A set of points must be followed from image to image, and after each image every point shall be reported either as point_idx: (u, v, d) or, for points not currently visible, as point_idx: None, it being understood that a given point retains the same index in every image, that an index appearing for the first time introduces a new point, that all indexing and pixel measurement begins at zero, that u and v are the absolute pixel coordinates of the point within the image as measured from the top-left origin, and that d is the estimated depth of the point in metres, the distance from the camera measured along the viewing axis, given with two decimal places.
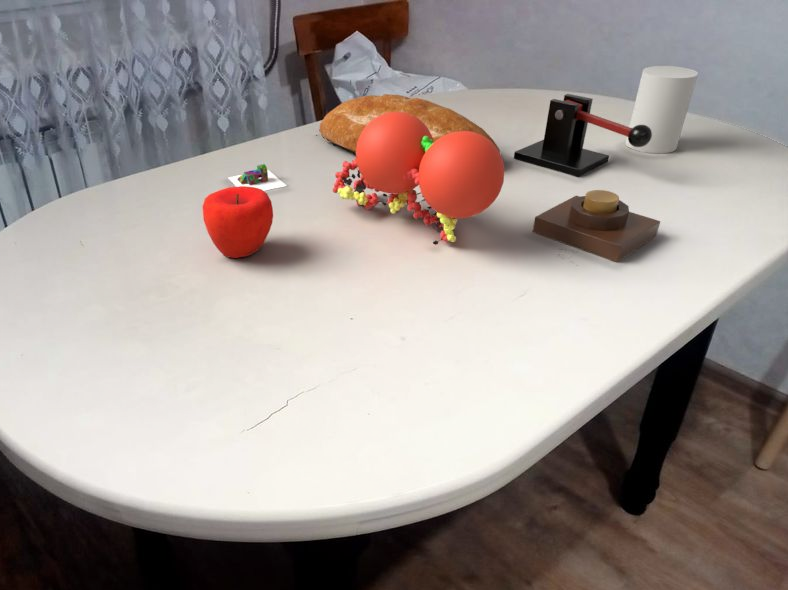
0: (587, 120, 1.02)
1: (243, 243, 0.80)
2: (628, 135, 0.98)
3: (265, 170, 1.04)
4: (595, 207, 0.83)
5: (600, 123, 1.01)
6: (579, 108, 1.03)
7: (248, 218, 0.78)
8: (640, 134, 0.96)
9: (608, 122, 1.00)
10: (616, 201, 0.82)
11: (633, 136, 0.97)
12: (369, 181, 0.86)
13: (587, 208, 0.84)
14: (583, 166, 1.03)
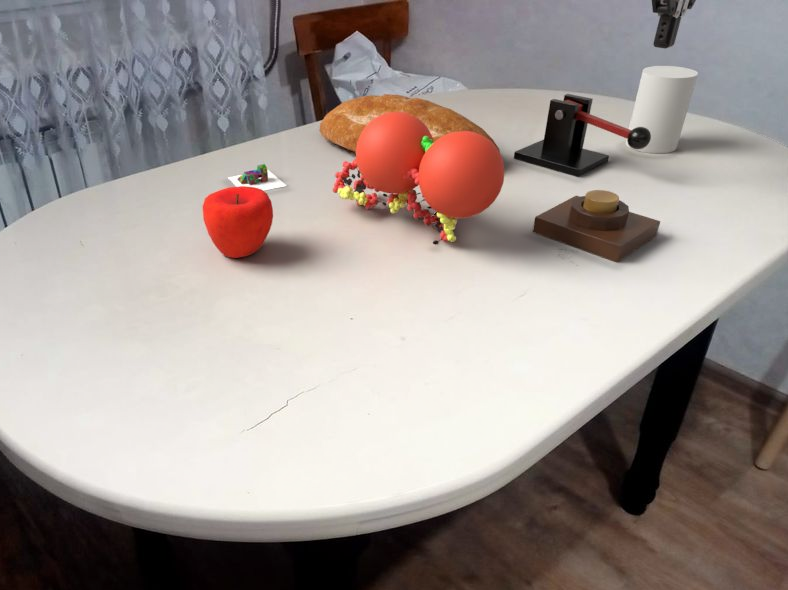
0: (587, 121, 1.02)
1: (243, 243, 0.80)
2: (627, 137, 0.98)
3: (265, 170, 1.04)
4: (595, 207, 0.83)
5: (600, 124, 1.01)
6: (579, 108, 1.03)
7: (248, 218, 0.78)
8: (639, 136, 0.96)
9: (608, 123, 1.00)
10: (616, 201, 0.82)
11: (632, 138, 0.97)
12: (369, 181, 0.86)
13: (587, 208, 0.84)
14: (583, 166, 1.03)
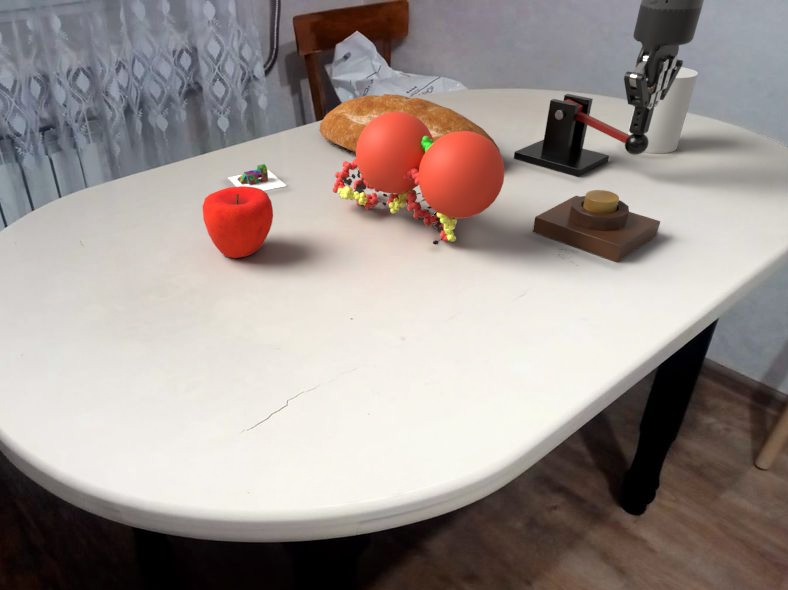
0: (586, 123, 1.02)
1: (243, 243, 0.80)
2: (625, 142, 0.99)
3: (265, 170, 1.04)
4: (595, 207, 0.83)
5: (599, 127, 1.01)
6: (579, 109, 1.03)
7: (248, 218, 0.78)
8: (637, 142, 0.97)
9: (606, 126, 1.00)
10: (616, 201, 0.82)
11: (630, 144, 0.97)
12: (369, 181, 0.86)
13: (587, 208, 0.84)
14: (583, 166, 1.03)
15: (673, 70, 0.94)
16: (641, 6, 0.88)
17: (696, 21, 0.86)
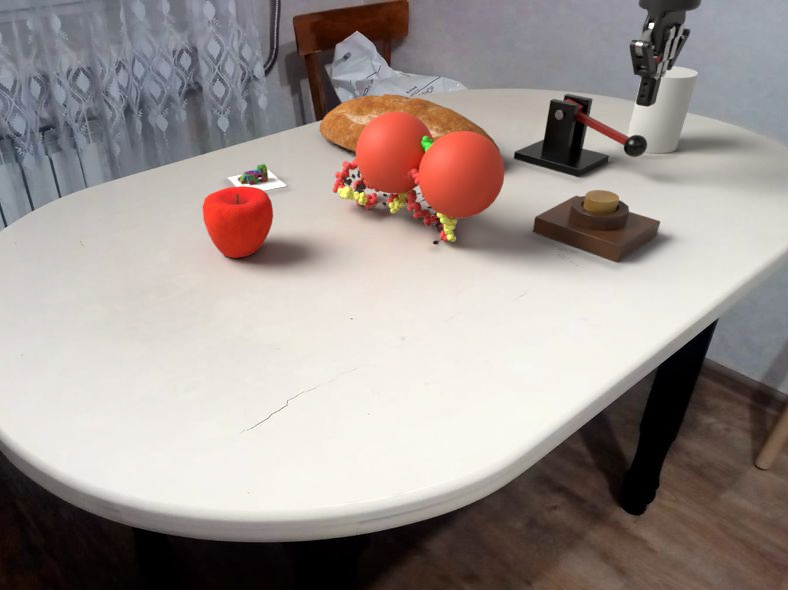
0: (586, 123, 1.02)
1: (243, 243, 0.80)
2: (624, 144, 0.99)
3: (265, 170, 1.04)
4: (595, 207, 0.83)
5: (598, 128, 1.01)
6: (579, 109, 1.03)
7: (248, 218, 0.78)
8: (636, 145, 0.97)
9: (606, 128, 1.00)
10: (616, 201, 0.82)
11: (629, 146, 0.98)
12: (369, 181, 0.86)
13: (587, 208, 0.84)
14: (583, 166, 1.03)
15: (680, 39, 0.92)
16: None
17: None
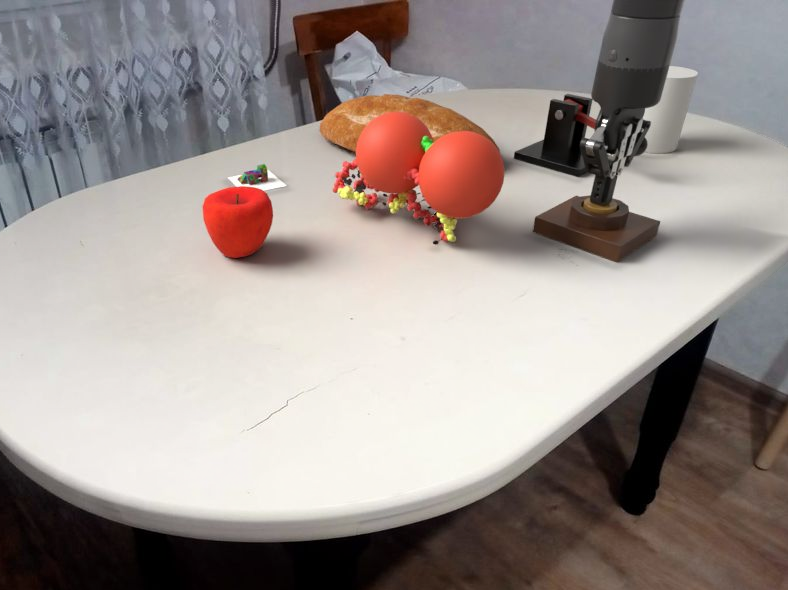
0: (586, 123, 1.02)
1: (243, 243, 0.80)
2: None
3: (265, 170, 1.04)
4: None
5: None
6: (579, 109, 1.03)
7: (248, 218, 0.78)
8: None
9: None
10: (614, 208, 0.83)
11: None
12: (369, 181, 0.86)
13: None
14: (583, 166, 1.03)
15: (639, 133, 0.81)
16: (599, 62, 0.74)
17: (662, 82, 0.73)
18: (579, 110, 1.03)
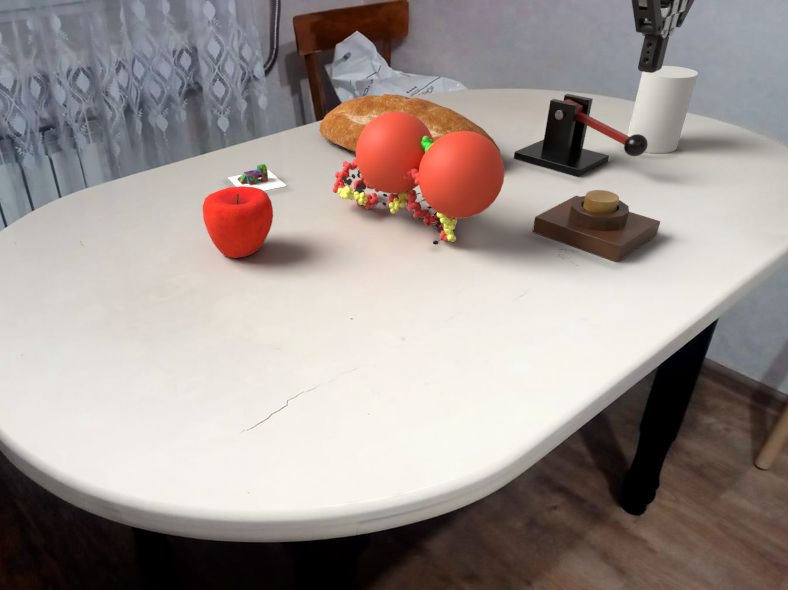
0: (586, 123, 1.02)
1: (243, 243, 0.80)
2: (624, 143, 0.99)
3: (265, 170, 1.04)
4: (595, 207, 0.83)
5: (598, 127, 1.01)
6: (579, 109, 1.03)
7: (248, 218, 0.78)
8: (636, 144, 0.97)
9: (606, 127, 1.00)
10: (616, 201, 0.82)
11: (629, 145, 0.98)
12: (369, 181, 0.86)
13: (587, 208, 0.84)
14: (583, 166, 1.03)
15: None
16: None
17: None
18: (579, 110, 1.03)
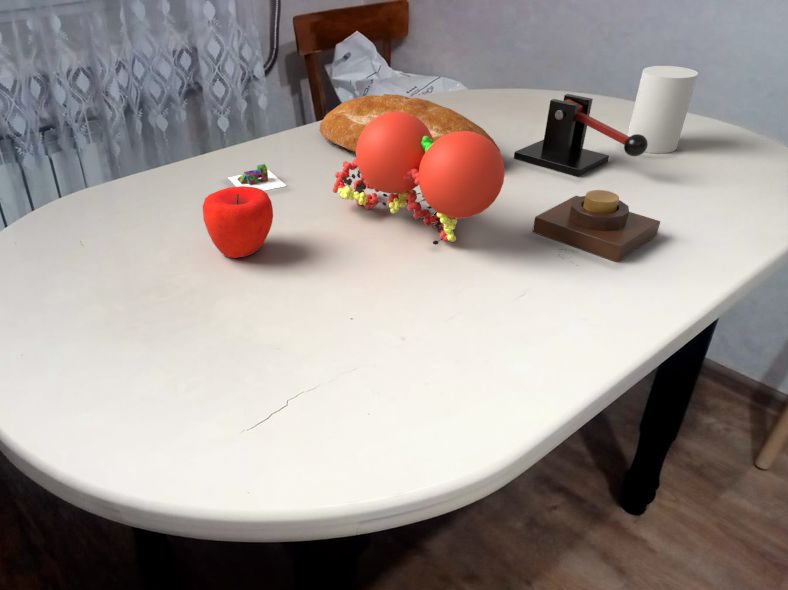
0: (586, 123, 1.02)
1: (243, 243, 0.80)
2: (624, 143, 0.99)
3: (265, 170, 1.04)
4: (595, 207, 0.83)
5: (598, 127, 1.01)
6: (579, 109, 1.03)
7: (248, 218, 0.78)
8: (636, 144, 0.97)
9: (606, 127, 1.00)
10: (616, 201, 0.82)
11: (629, 145, 0.98)
12: (369, 181, 0.86)
13: (587, 208, 0.84)
14: (583, 166, 1.03)
15: None
16: None
17: None
18: (579, 110, 1.03)
